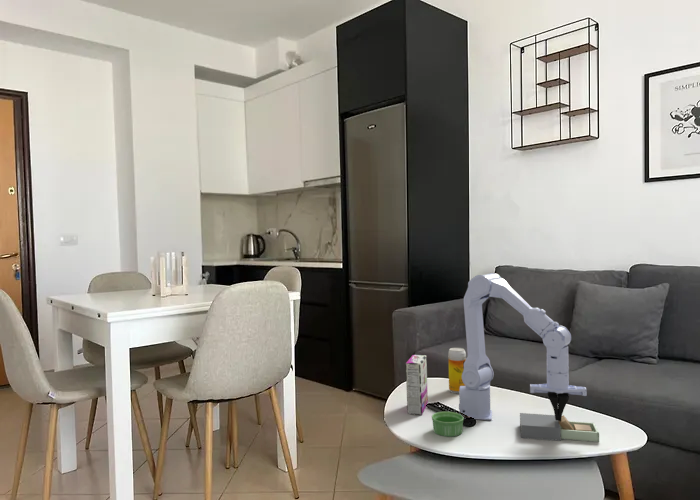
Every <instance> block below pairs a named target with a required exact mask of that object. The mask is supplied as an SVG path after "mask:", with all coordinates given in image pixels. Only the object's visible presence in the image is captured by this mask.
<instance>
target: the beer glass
mask: <svg viewBox="0 0 700 500" xmlns="http://www.w3.org/2000/svg"><path fill="white" fill-rule="evenodd" d="M447 353H448V389H449V391H450V392H451V393H453V394H459V390H460V386H466V385H465V384H464V383H463V381H462V373H463V370H464V362H465V361H466V359H467V353H466V350H465V349H464V348H463V347H451V348H449V349H448V351H447Z"/></svg>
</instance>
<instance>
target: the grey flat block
mask: <svg viewBox="0 0 700 500" xmlns="http://www.w3.org/2000/svg"><path fill="white" fill-rule="evenodd" d="M519 426H520V434H521V435H520V436H521V438H522V439H531V440H545V441H546V440H547V441H561V440H562V439H561V428H560V425H559V422H558V420H555V414H543V413H542V414H541V413H526V412H520V413H519Z"/></svg>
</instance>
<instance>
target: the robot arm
mask: <svg viewBox="0 0 700 500" xmlns="http://www.w3.org/2000/svg"><path fill="white" fill-rule="evenodd" d="M507 281H508V280H505V279H504V278H503V277H501V276H500V274H498V273H495V272H490V273H487V274H486V273H485V274H477V275H475V276H473V278H471V279H470V280H469V281H468V283H467V288H466V291H465V294H464V296H463V309H464V310H463V311H464V312H463V313H464V325H465V336H466V337H465V338H466V351H467V356H466V361H465V362H464V370H463V373H462V381H463V383H464V384H465V385H466V386H460V390H459V393H458V394H459V395H458V396H459V397H458V399H459V404H458V410H459V413H460V412H461V413H463V414H465V415H467V416H470V417H472V418H474V419H473V420H483V421H492V420H493V411H492V409H491V381H492V380H493V379H494V375H495V374H494V370H493V367H492V366H491V360H490V358H489V357H488V355H487V354H486V341H485V340H486V339H485V330H484V328H485V327H484V315H483V304H484V303H485V302H486V301H487V300H488V299H489V298H498V299H503V300H504V301H505V302H506V303H507V304H508V305H510V306H511V307H512V308H513V309H514V310H516V312H518V313H519V314H521V315H522V317H523V322H524V323H525V325H527V326H528V327H529V328H530V329H531V330H532V331H534V333H536V334H537V335H538V336H539V337H540V338H541V339H542V342H543V346H545V348H546V383H537V384H536V383H535V384H533V383H530V384H529V393H530V394H535V393H537V394H538V393H540V394H546V395H547V397H548V399H549V401H550V403H551V407H552V409H553V411H554V414H553V415H555V420H558V421H561V418H562V416H563V413H564V410H565V408H566V406H567V404H568V402H569V400H570V396H569V395H577V396H583V397H587V393H588V392H587V387H585V386H579V385H578V386H577V385H571V384H570V381H569V380H570V373H569V371H570V367H569V364H570V362H569V361H570V360H569V358H570V357H569V346H568V345H570V343H571V341H572V334H571V332H570V331H569V329H568V328H567V327H566V326H563V325H560V324H559V322H558V321H554V320H553V319H552V318H550V317H549V316H548V315H547V314H546V312H547V311H546V310H544V309H543V308H540V307H532V306H531V305H530V304H529V303H528V302H527V301H526V300H525V299H524V298H523V297H522V296H521V295H520V294H519V293H518V292H517V291H516V290H515V289H514V288H512V286H510V284H509V283H508V282H507Z"/></svg>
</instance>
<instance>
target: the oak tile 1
mask: <svg viewBox="0 0 700 500" xmlns="http://www.w3.org/2000/svg"><path fill="white" fill-rule="evenodd" d="M569 421H570V420H568V419H567V418H566V416H565V415H563V414H562V418H561V421H558V422H559V424H560V426H561V427H562V428H563V429H564V430H574V429H573V427H572V425H571V424H570V423H569Z"/></svg>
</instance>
